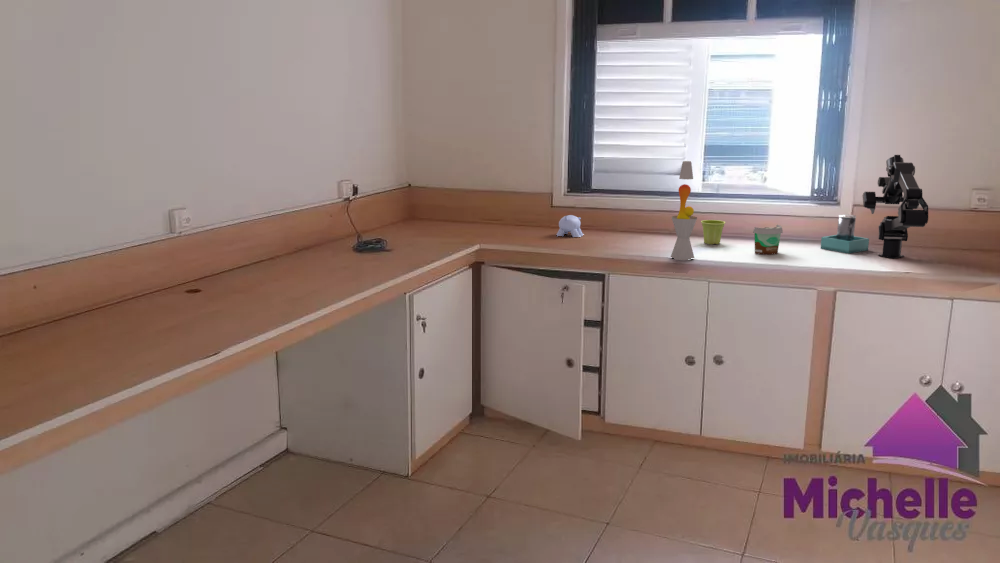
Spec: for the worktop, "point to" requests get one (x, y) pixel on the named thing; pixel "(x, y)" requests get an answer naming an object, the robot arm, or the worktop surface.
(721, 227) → the plant pot
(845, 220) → the grey can
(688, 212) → the lava lamp
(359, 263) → the worktop surface
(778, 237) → the food container
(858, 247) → the teal bin
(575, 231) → the hippopotamus toy
